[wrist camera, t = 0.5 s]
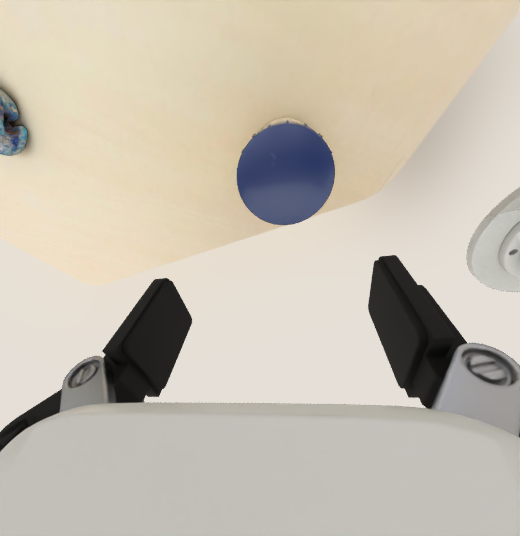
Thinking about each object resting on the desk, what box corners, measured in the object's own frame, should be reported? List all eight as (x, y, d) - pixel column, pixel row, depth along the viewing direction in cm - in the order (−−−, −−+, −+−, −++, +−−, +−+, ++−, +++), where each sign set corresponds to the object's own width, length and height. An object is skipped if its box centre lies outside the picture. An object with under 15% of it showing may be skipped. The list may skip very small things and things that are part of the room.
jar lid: (320, 101, 15) (324, 101, 13) (337, 201, 18) (342, 210, 17) (224, 142, 16) (219, 147, 15) (258, 225, 20) (256, 236, 19)
